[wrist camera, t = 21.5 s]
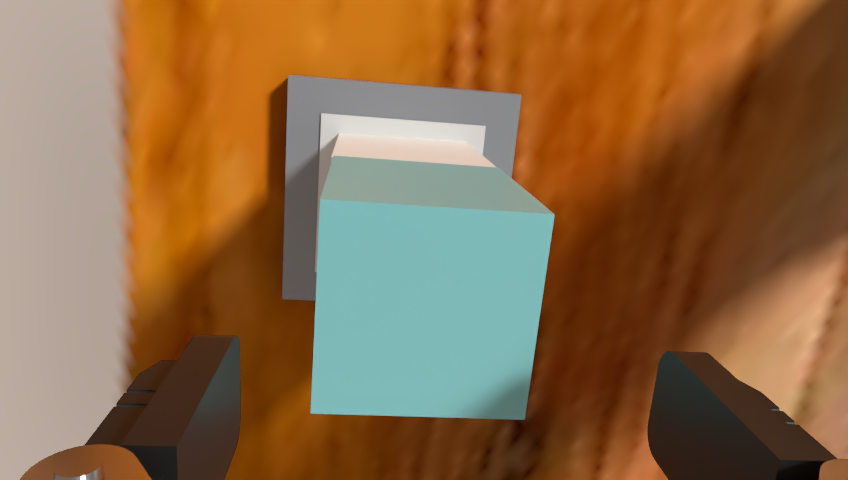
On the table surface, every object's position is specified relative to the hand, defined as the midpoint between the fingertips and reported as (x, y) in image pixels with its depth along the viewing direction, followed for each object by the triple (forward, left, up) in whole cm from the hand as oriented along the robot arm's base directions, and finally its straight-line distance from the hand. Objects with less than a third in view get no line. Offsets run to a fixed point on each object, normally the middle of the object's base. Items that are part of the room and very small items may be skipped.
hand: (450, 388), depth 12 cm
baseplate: (0, 0, -16) cm, 16 cm away
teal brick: (0, 0, -8) cm, 8 cm away
